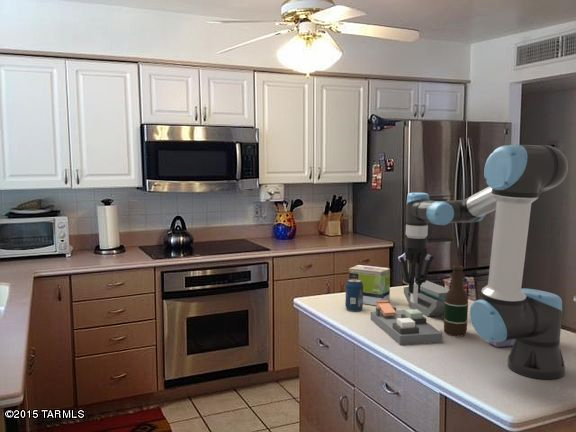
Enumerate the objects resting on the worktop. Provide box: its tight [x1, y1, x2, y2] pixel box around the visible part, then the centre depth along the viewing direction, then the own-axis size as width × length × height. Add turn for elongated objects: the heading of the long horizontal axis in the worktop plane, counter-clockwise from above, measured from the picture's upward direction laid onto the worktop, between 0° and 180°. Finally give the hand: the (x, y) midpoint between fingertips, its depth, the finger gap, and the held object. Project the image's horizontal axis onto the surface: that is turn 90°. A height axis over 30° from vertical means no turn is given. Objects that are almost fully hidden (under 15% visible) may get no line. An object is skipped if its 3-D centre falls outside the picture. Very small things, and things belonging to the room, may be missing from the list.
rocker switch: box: [375, 300, 396, 316], centre depth 197 cm, size 9×4×2 cm, turn 11°
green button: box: [404, 309, 424, 319], centre depth 190 cm, size 5×5×2 cm
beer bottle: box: [443, 264, 469, 337], centre depth 186 cm, size 8×8×24 cm
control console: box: [370, 305, 444, 346], centre depth 189 cm, size 28×15×6 cm, turn 11°
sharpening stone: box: [402, 277, 450, 317], centre depth 212 cm, size 25×8×11 cm, turn 20°
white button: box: [397, 318, 415, 328], centre depth 180 cm, size 5×5×2 cm
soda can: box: [344, 278, 364, 312], centre depth 214 cm, size 7×7×12 cm
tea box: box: [348, 264, 391, 306], centre depth 226 cm, size 15×10×15 cm, turn 58°
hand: (413, 302), depth 189 cm, fingers closed
